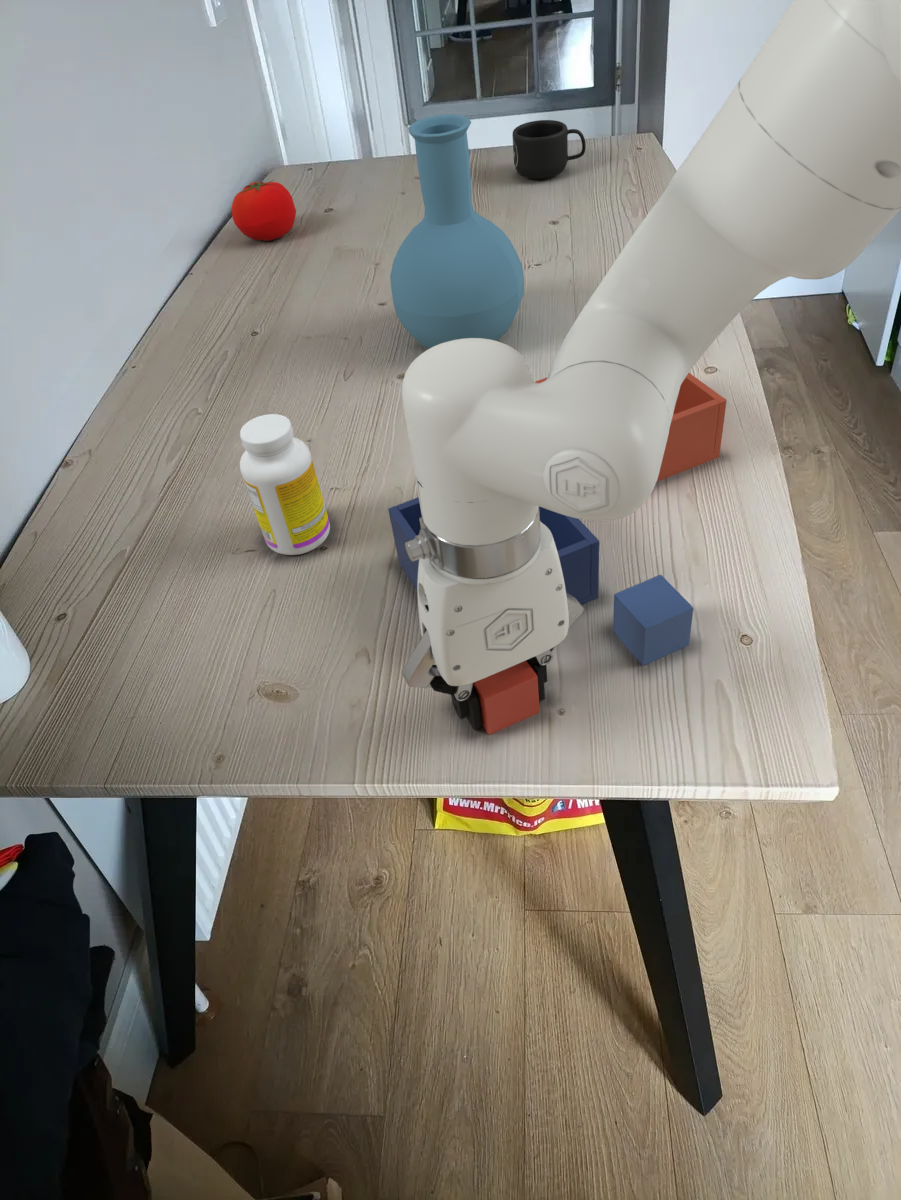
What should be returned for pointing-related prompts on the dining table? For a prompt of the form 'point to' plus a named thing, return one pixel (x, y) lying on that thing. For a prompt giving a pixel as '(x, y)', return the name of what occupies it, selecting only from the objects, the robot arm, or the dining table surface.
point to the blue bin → (568, 532)
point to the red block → (508, 697)
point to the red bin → (692, 428)
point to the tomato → (264, 211)
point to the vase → (453, 249)
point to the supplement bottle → (283, 486)
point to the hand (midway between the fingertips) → (501, 701)
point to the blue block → (652, 619)
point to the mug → (542, 148)
